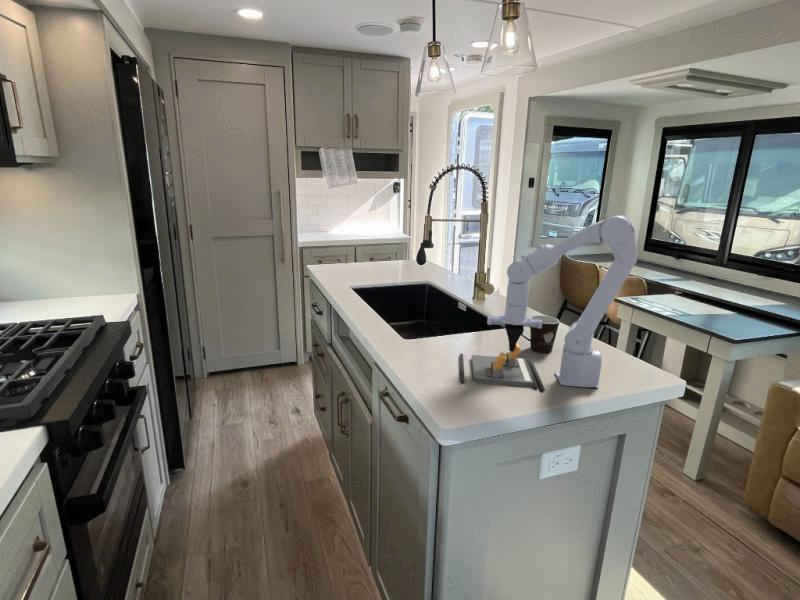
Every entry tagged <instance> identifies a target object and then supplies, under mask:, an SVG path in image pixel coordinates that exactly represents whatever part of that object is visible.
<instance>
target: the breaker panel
mask: <svg viewBox="0 0 800 600" xmlns="http://www.w3.org/2000/svg"><path fill="white" fill-rule="evenodd" d="M509 353H510V351H509V352H506V353H505V355H506V359H507V360H506V361H505V362H504V364H503V365H502V367H501V368H500V370H493V367H492V365H493V364H494V362H495V361H496V359H497V358H498V356H492V355H489V356H488V355H480V354H479V355H477V354H472V355H471V363H472V364H471V365H472V375H473V383H480V384H482V383H483V384H492V385H493V384H494V385H503V386H504V385H505V386H517V387H529V388H534V387H533V380H532V378H531V375H530V372H529V370H528V367H527V365H526V362H525V361H526V359H525V358H517V357H516V358H515V360H512V359H508V354H509Z"/></svg>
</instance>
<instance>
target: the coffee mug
mask: <svg viewBox="0 0 800 600" xmlns="http://www.w3.org/2000/svg"><path fill="white" fill-rule="evenodd" d="M529 318H531V319H538V320H541V321H542V328H537V327H529V329H530V330H529V331H530V334H529V335H530V338H528V337H527V336H525V335H524V334H523V333H522V335H521V336H522V338H524V339H525V340H527V341H529V343H530V350H531V351H532V352H534V353H538V354H541V355H542V354H543V355H544V354H545V355H547V354H552V352H553V348H554V344H555V340H556V337H557V332H558V328H559V325H560V320H559V319H558V318H556V317H553V316H550V315H540V314H539V315H538V314H537V315H532V316H530V317H529Z"/></svg>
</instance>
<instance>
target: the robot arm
mask: <svg viewBox="0 0 800 600" xmlns="http://www.w3.org/2000/svg"><path fill="white" fill-rule="evenodd" d="M602 241H604V242H605V244H607V245H608V246H609V247H610V250H611V252H612V255H613V257H614V260H613V261H612V263H611V264H610V267H609V268H608V270H607V271H606V273H605V275H604V277H603V278H602V280H601V282H600V283H599V285H598V287H597V288H596V291H595V292H594V293H593V295H592V297H591V298H590V300H589V302H588V304H587V306H586V307H585V309H584V311H583V312H582V313H581V315H580V317H579V319H577V320H576V321H574V322H573V323H572V324H571V325H570V326H569V330H568V332H567V333H566V335H565V337H564V344H563V346H562V355H561V361H560V362H561V363H560V369H559V371H555V372H554V373H555V376H556V378H557V379H558V381H559V383H560V385H561V386H565V387H566V386H568V387H569V386H570V387H581V388H590V387H599V388H600V386H599V382H600V375H601V371H602V370H601V368H602V354H601V352H600V351H599V350H594V348H593V347H592V342H593V341H592V340H593V338H594V337H595V332H596V330H597V327H598V326H599V324H600V322H601V320H602V319H603V317H604V316H605V313H606V312H607V310H608V309H609V307H610V306H611V304H612V303H613V301H614V299H615V297H616V296H617V294H618V293H619V291H620V289H621V288H622V286H623V284H624V283H625V281H626V279H627V278H628V277H629V275H630V273H631V271H632V270H633V268H634V266H635V265H636V263H637V260H638V256H639V255H638V249H637V240H636V231H635V228H634V226H633V224H632V221H630V219H629V218H628V217H627V216H625V215H622V214H614V215H612V216H609V217H608V218H607V219H606V220H605V219H602V220H600V221H597V222H595V223H591V224H590V225H588V226H586V227H584V228H582V229H581V230H579V231H577V232H575V233H574V234H572V235H570V236H568V237H566V238H565V239H563V240H562V241H560V242H558V243H557V244H556V243H555V245H552V244H548V243H547V244H544V245H543V244H542V243H541V244H540V245H538V246H536V249H535V250H533V251H531V252H530V253H528V254H523V255H521V256H520V259H517V260H514V261H513V262H512V263H510V265H509V266H508V267H507V271H506V275H507V278H508V283H507V287H506V288H507V289H506V296H505V297H506V298H505V308H504V315H493V316H492V315H488V316H487V322H486V323H487V325H488V326H490V325H491V326H492V325H495V326H496V325H497V326H504V328H505V331H506V335H507V338H508V350H509V352H510V351H512V352H513V351H514V348H515V345H516V343H517V342H518V341H519V339H520V337H521V336H522V334H523V333H524V331H525V327H526V328H530V327H537V328H542V321H541V320H538V319H531V318H530V317H527V311H528V310H527V309H528V303H529V302H528V301H529V296H530V295H529V293H530V281H531V279H530V278H531V277H532V275H535V276H536V275H538V274H540V273H542V272H544V271H545V270H547V269H550V268H551V267H553V266H556V265H557V264H558V263H559V260H560V257H561V256H563V255H565V254H567V253H569V252H571V251H574V250H575V249H577V248H579V247H581V246H583V245H585V244H587V243H601V242H602ZM517 344H518V343H517Z"/></svg>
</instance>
